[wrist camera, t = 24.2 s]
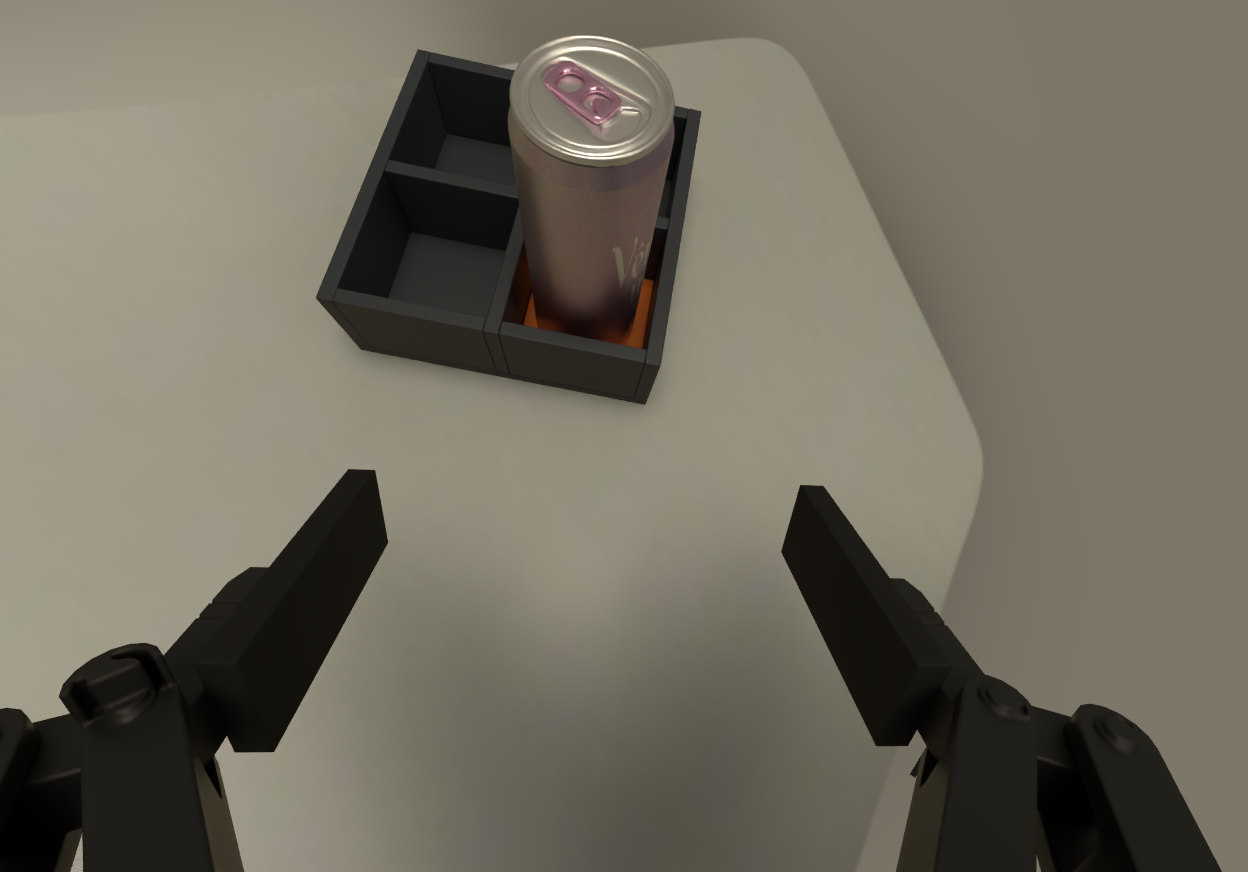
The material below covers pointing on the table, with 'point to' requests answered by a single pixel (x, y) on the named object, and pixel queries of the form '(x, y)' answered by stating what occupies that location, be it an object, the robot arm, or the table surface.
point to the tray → (481, 245)
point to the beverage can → (589, 178)
